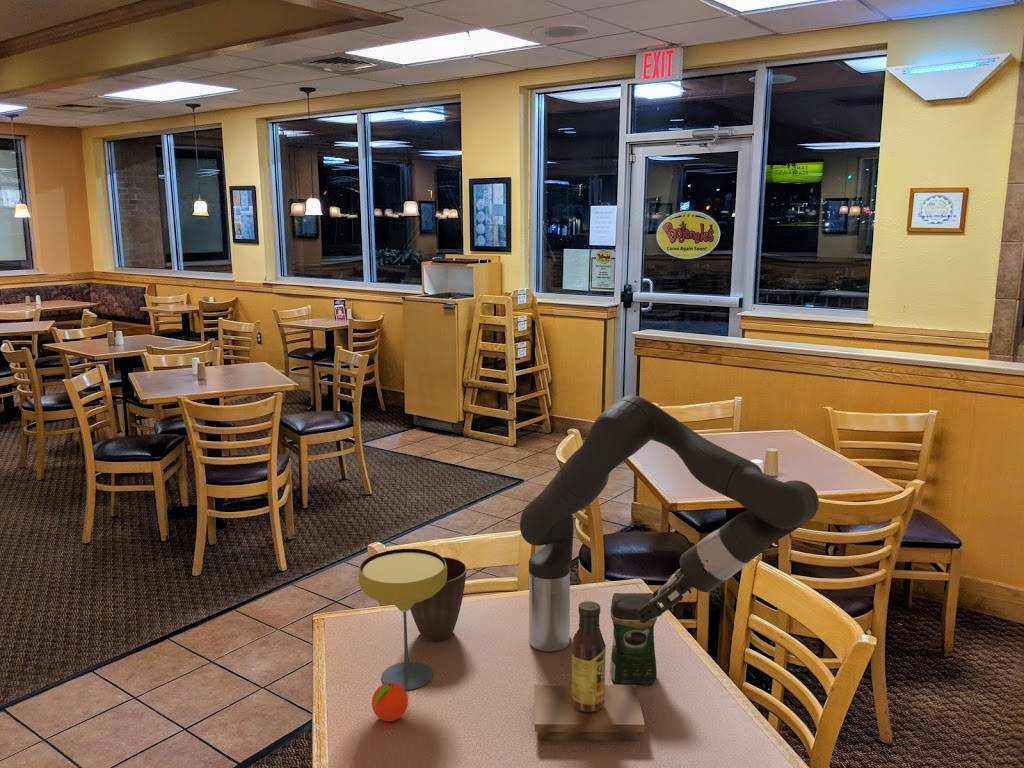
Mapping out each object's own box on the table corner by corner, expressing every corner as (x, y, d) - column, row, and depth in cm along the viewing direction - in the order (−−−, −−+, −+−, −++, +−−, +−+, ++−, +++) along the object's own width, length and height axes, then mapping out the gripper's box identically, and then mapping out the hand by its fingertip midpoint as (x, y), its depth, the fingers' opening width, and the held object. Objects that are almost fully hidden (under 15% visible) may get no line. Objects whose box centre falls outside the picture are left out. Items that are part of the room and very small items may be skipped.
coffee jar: (653, 667, 173) (655, 586, 169) (658, 688, 165) (661, 603, 162) (607, 667, 173) (608, 586, 170) (611, 688, 165) (612, 603, 162)
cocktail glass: (379, 710, 159) (374, 591, 154) (352, 667, 174) (347, 558, 170) (463, 685, 167) (461, 572, 162) (431, 646, 182) (427, 542, 178)
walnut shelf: (534, 743, 148) (534, 724, 147) (534, 702, 160) (534, 684, 160) (644, 744, 147) (644, 724, 146) (635, 703, 160) (635, 684, 159)
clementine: (389, 736, 150) (387, 701, 149) (361, 724, 154) (359, 690, 153) (416, 714, 157) (414, 681, 156) (388, 703, 161) (387, 671, 159)
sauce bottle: (602, 716, 149) (604, 616, 145) (569, 712, 150) (570, 612, 147) (605, 696, 155) (608, 600, 152) (573, 693, 157) (574, 597, 153)
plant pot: (407, 653, 179) (404, 586, 176) (400, 622, 194) (398, 560, 191) (473, 645, 183) (472, 579, 180) (462, 615, 197) (460, 553, 194)
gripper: (711, 528, 142) (647, 576, 150) (686, 556, 130) (618, 607, 138) (740, 562, 141) (674, 609, 149) (718, 594, 129) (647, 643, 136)
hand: (647, 608), depth 143 cm, fingers open, 8 cm apart
